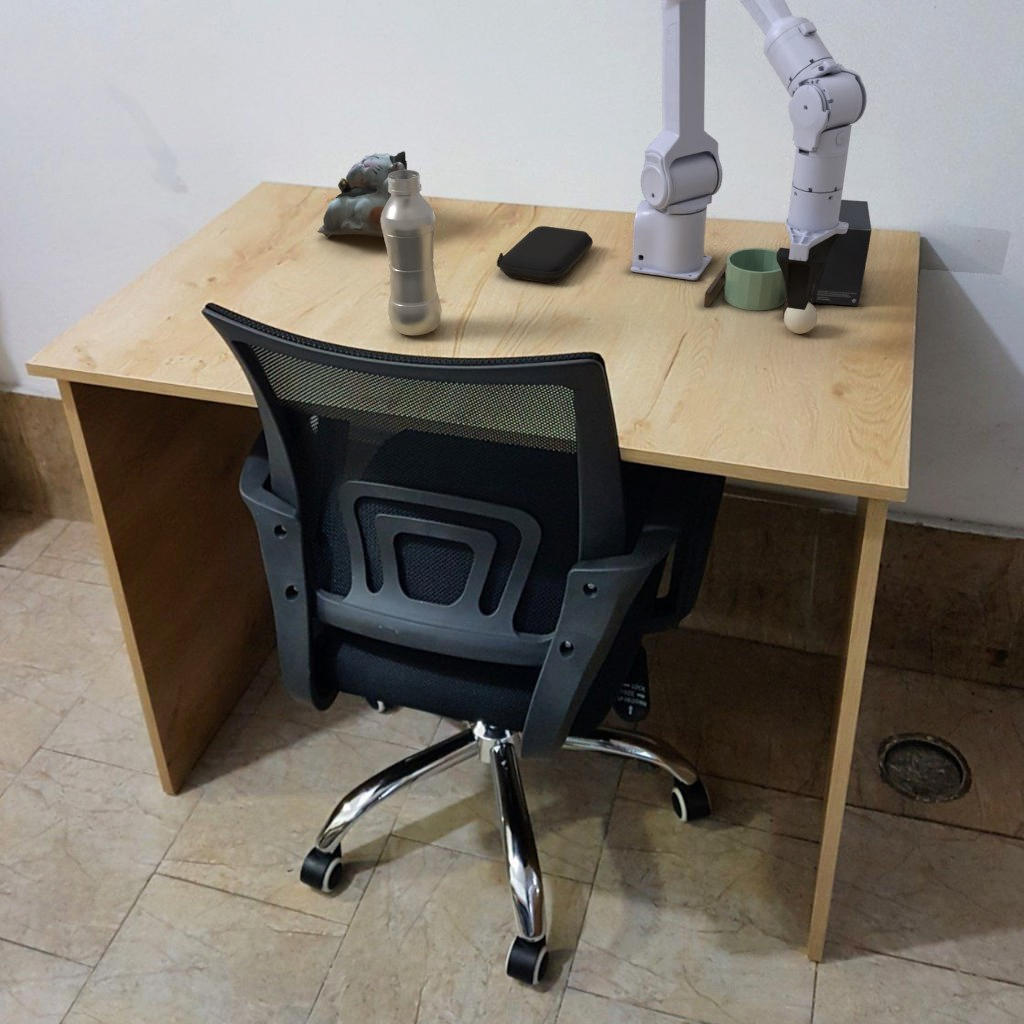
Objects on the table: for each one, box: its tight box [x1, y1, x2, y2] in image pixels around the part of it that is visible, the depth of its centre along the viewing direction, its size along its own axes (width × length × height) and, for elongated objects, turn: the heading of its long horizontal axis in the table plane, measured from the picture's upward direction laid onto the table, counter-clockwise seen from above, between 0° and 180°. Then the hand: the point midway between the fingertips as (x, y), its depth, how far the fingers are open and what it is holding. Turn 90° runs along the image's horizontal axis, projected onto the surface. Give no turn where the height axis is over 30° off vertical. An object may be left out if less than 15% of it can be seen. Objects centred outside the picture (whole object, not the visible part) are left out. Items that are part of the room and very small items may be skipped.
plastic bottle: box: [380, 169, 443, 336], centre depth 138 cm, size 6×7×20 cm
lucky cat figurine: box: [316, 150, 408, 238], centre depth 168 cm, size 15×12×14 cm
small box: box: [809, 199, 873, 307], centre depth 147 cm, size 11×6×10 cm, turn 168°
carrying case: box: [496, 225, 594, 284], centre depth 159 cm, size 11×3×15 cm
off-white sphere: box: [783, 301, 819, 335], centre depth 139 cm, size 4×4×4 cm
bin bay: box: [703, 263, 788, 319], centre depth 148 cm, size 11×10×2 cm
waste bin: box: [723, 247, 786, 312], centre depth 147 cm, size 8×8×5 cm
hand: (803, 294), depth 137 cm, fingers open, 7 cm apart
